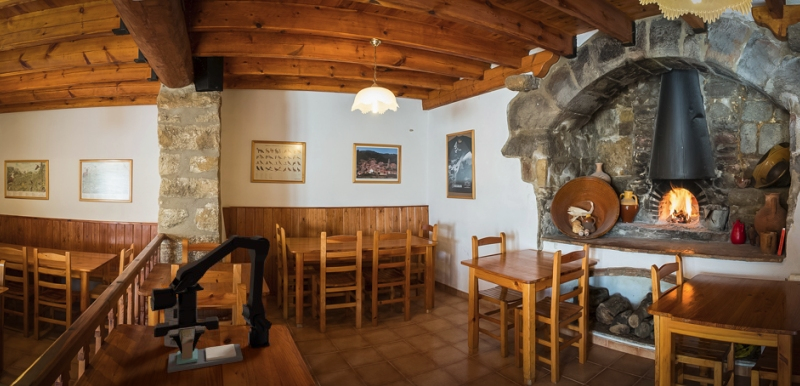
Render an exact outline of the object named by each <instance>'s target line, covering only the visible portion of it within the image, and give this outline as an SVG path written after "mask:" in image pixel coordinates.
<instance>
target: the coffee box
mask: <svg viewBox="0 0 800 386" xmlns="http://www.w3.org/2000/svg"><path fill="white" fill-rule="evenodd" d="M173 309H178V296H177V303H176V304H175V306H173V308H170V309H164V310H163V315H164V317H163V318H164V319H163V321H164V322H163V323H165V322H169V325H176V324H178V318H176V319H174V318H173ZM194 332H195V328H192V329H185V330H180V334H181V341H182V339H183V337H191V336H193V339H194ZM169 335H170V333H169V332H168V334H167V335H166V336H163V337H164V341H163V342H164V347H171V348H178V345H177V343H176V342H175V340H174V339H173V338H169Z"/></svg>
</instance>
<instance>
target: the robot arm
mask: <svg viewBox="0 0 800 386" xmlns="http://www.w3.org/2000/svg"><path fill="white" fill-rule="evenodd" d="M270 247H271V242H270V240H269V239H268V238H266V237H264V236H261V235H253V236H241V235H240V236H239V235H236V234H233V235H231V236H229V238H228V239H226V240H224V241H223V242H222V243H221V244H219V245H217V246H216V247H215V248H213V249H211V251H209V252H208V253H206V254H205V255H203V256H202V257H200V258H199V259H197V260H194V261H191V262H189V263H187V264H185V265H182V266H180V267H179V268H178V269H177V270H176V273H175V277H174V278H173V280H172V281H171V282H170V283H169V285H168V287H161V288H153V289H152V290H151V293H150V294H151V295H150V298H149V302H150V309H151V312H157V311H164V309H170V308H173V306H175V304H176V303H177V297H178V309H173V318H174V319H176V318H178V324H176V325H169V322H165V323H164V322H160V323H159V322H157V323H156V324H155V325H154V328H153V330H154V331H153V337H154V338H161V337H164V336H166V335H167V334H168V332H169V333H170V335H169V338H173V339H174V340H175V342H176V343H177V345H178V347H177V348H178V350H179V351H180V352H181V353H182V341H181V334H180V330H185V329H192V328H195V332H194V339H193V352H194V350H195V349H196V347H197V344H198V341H199V339H200V338H201V336H202V335H203V334H206V333H205V332H206V330H207V331H215V330H218V329H220V327H219V326H220V324H219V323H220V319H219V318H218V316H216V315H215V316H208V317H205V320H202V321H198V292H200V291H204V287H203V286H201V285H200V283H199V281H200V280H201V279H202V278H204V276H205V275H206V273H207V272H208V270H210V268H212V267H213V266H215V265H216V264H217V263H219V262H220V261H221V260H223V259H224V258H226V257H227V256H229V255H230V254H231V253H233V252H234V251H236V250H237V249H239V248H242V249H247V250H248V254H249V258H250V271H249V272H250V275H249V292H248V300H247V302H246V303H245V304H244V303H243V304H242V312H241V316H242V317H243V318H242V319H243V320H244V321H245V322H246V323H248V326H250V328H249V331H248V333H247V334H248V337H247V338H248V341H247V342H248V345H249V347H250V348H251V349H254V348H261V347H267V346H268V347H269V346H270V345H271V343H270V330H271V329H272V326H273V324H272V322H271V321H269V320H268V318H266V310H265V306H264V302H263V293H264V292H263V291H264V274H265V262H266V259H267V257H268V256H269V252H270Z"/></svg>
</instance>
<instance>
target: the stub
mask: <svg viewBox="0 0 800 386" xmlns="http://www.w3.org/2000/svg"><path fill="white" fill-rule="evenodd" d="M198 350H199V349H198V348H195V350H194V352H193V336H191V337H183V339H182V353H181V352H180V350H179V351H177V352H176V353H177V365H178V364H184V363H191V362H197V361H198Z"/></svg>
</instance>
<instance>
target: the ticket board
mask: <svg viewBox="0 0 800 386" xmlns="http://www.w3.org/2000/svg"><path fill="white" fill-rule="evenodd" d="M177 353H178V352H173V353H169V354H168V355H169V356H168V363H167V364H168V365H167V374H168V373H174V372H175V373H176V372H182V371H188V370H193V369H199V368H206V367H212V366H217V365H223V364H224V365H225V364H229V363H235V362H242V361H243V360H244V356H243V352H242V349H241V346H240V343H235V344H234V343H231V344H230V343H229V344H225V345H224V344H223V345H218V346H211V347H205V348H201V349H198V361H197V362H191V363H184V364H178V365H177Z"/></svg>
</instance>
